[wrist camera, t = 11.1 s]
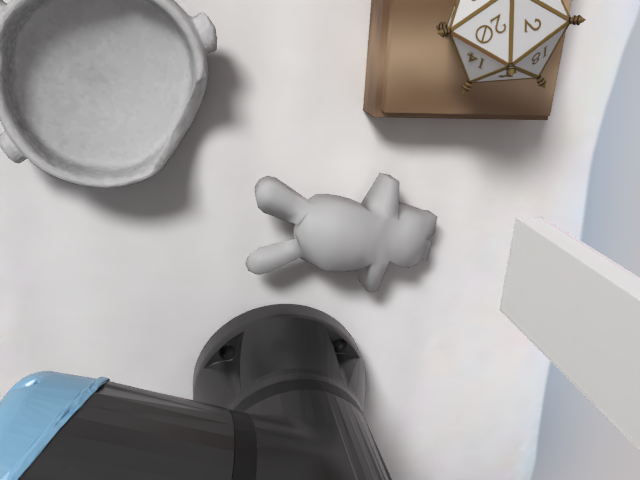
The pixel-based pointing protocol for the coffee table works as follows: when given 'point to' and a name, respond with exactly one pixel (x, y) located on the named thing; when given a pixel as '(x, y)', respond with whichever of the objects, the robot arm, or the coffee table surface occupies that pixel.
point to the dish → (100, 85)
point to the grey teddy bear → (345, 230)
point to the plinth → (439, 70)
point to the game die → (506, 37)
